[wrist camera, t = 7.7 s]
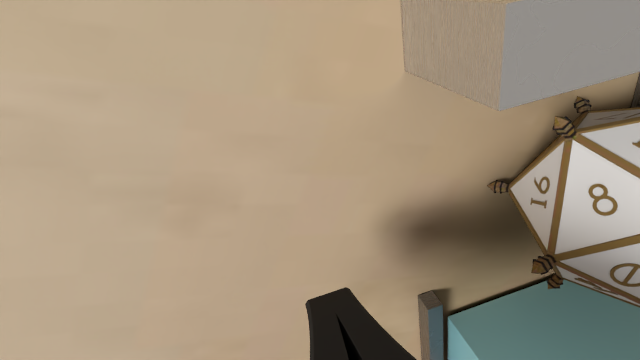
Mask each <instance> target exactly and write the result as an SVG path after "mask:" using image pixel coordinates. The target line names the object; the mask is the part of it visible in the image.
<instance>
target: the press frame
mask: <svg viewBox="0 0 640 360" xmlns="http://www.w3.org/2000/svg"><path fill="white" fill-rule="evenodd" d="M401 8H402V25H403V43H404V60H405V71H406V72H408V73H410V74H413V75H415V76H417V77H420V78H422V79H425V80H427V81H429V82H432V83H434V84H436V85H439V86H441V87H443V88H446V89H448V90H450V91H453V92H455V93H457V94H460V95H462V96H464V97H467V98H469V99H472V100H474V101H476V102H479V103H481V104H483V105H486V106H488V107H490V108H493V109H495V110H497V111H501V110H504V109H508V108H511V107H515V106H519V105H522V104H526V103H529V102H533V101H536V100H540V99H544V98H547V97H551V96H554V95H558V94H561V93H565V92H569V91H572V90H576V89H579V88H583V87H586V86H590V85H594V84H597V83H601V82H604V81H608V80H611V79H615V78H619V77H622V76H626V75H629V74H633V73H636V72H640V0H401ZM637 107H640V75H639V79H638V82H637V86H636V90H635V94H634V98H633V102H632V106H631V108H637ZM418 303H419V321H420V338H421V356H422V360H443V304H442V303H441V302H440V300H439V299H438V298H437V296H436V295H435V294H434V292H433V291H430V292H427V293H424V294H421V295H418Z"/></svg>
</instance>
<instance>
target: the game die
mask: <svg viewBox="0 0 640 360" xmlns="http://www.w3.org/2000/svg"><path fill="white" fill-rule="evenodd" d="M588 102H590V101H589V100H585V99H582V98H580V97H578V96H577V100H576V103H574V108H576V109H577V113H580V114H581V115H580V116H579V117H578V118H577V119H576V120H575V121H574V122H573V123H571V120H569V119H568V118H567V117H564V118H563V117H557V116H555V123H554V126H553V130H556V131H557V134H558V135H560V136H559V137H558V138H557V139H556V140H554V141H553V142H552V143H551V144H550V145H549V146H548V147H547V148H546V149H545V150H544V151H543V152H542V153H541V154H540V155H539V156H538V157H537V158H536V159H535V160H534V161H533V162H532V163H531V164H530V165H529V166H528V167H527V168H526V169H525V170H524V171H523V172H521V173H520V174H519V175H518V176H517V177H516V178H515V179H514V180H513V181H512V182H511V183H510V184H505V183H504V182H503V181H501V182H498V181H497V180H496V182H493V183H491V184H489V185H487V186H488V187H489V188H490V189H492V190H493V191H494V193H496V192H500V193H502V192H508V193H509V195H510V196H511V198H512V200H513V202H514V203H515V205H516V207H517V209H518V210H519V212H520V214H521V215H522V217H523V219H524V221H525V222H526V224H527V226H528V228H529V229H530V231H531V233H532V234H533V236H534V238H535V240H536V241H537V243H538V245H539V247H540V248H541V250H542V252H543V253H544V255H545V256H543V257H541V256H538V259H537V260H536V259H533V268H532V272H531V273H540V274H545V273H547V272H549V271H548V270H550V269H552V268H553V270H554V271H555V273H556V274H555V275H553V274H552V275H551V278H548V280H547V283H548V289H553V288H554V289H559V288H560V285H563V280H567V281H569V282H572V283H575V284H577V285H580V286H583V287H585V288H588V289H591V290H594V291H596V292H599V293H602V294H604V295H607V296H610V297H612V298H615V299H618V300H620V301H623V302H626V303H628V304H631V305H634V306H637V307H639V308H640V107H637V108H624V109H612V110H599V111H590V107H591V105H589V103H588Z"/></svg>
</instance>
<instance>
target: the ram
mask: <svg viewBox="0 0 640 360" xmlns="http://www.w3.org/2000/svg"><path fill="white" fill-rule="evenodd" d="M448 360H640V308H639V307H637V306H634V305H631V304H628V303H626V302H623V301H620V300H618V299H615V298H612V297H610V296H607V295H604V294H602V293H599V292H596V291H594V290H591V289H588V288H585V287H583V286H580V285H577V284H575V283H572V282H569V281H567V280H563V285H560V288H559V289H554V288H553V289H548V283H547V281H545V282H542V283H539V284H536V285H534V286H531V287H528V288H525V289H523V290H520V291H517V292H514V293H512V294H509V295H506V296H503V297H501V298H498V299H495V300H492V301H490V302H487V303H484V304H481V305H479V306H476V307H473V308H470V309H468V310H465V311H462V312H459V313H457V314H454V315H451V316H448Z"/></svg>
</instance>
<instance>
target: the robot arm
mask: <svg viewBox="0 0 640 360" xmlns="http://www.w3.org/2000/svg"><path fill="white" fill-rule="evenodd" d="M305 305H306V309H307V313H308V320H309V330H310V360H416V359H415V358H414V357H413V356H412V355H411V354H410V353H409V352H407V351H406V350H405V349H404V348H403V347H402V346H401V345H400V344H399V343H398V342H397V341H395V340H394V339H393V338H392V337H391V336H390V335H389V334H388V333H387V332H386V331H385V330H384V329H383V328H382V327H381V326H380V325H379V324H378V322H377V321H376V320H375V319H374V318H373V317H372V316H371V315H370V314H369V313H368V312H367V310H366V309H365V308H364V307H363V306H362V305H361V303H360V302H359V301H358V300H357V298H356V297H355V296H354V294H353V293H352V292H351V290H350V289H348V288H343V289H340V290H337V291H334V292H331V293H328V294H325V295H322V296H319V297H316V298H313V299H310V300H308V301H307V302H306V304H305Z"/></svg>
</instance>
